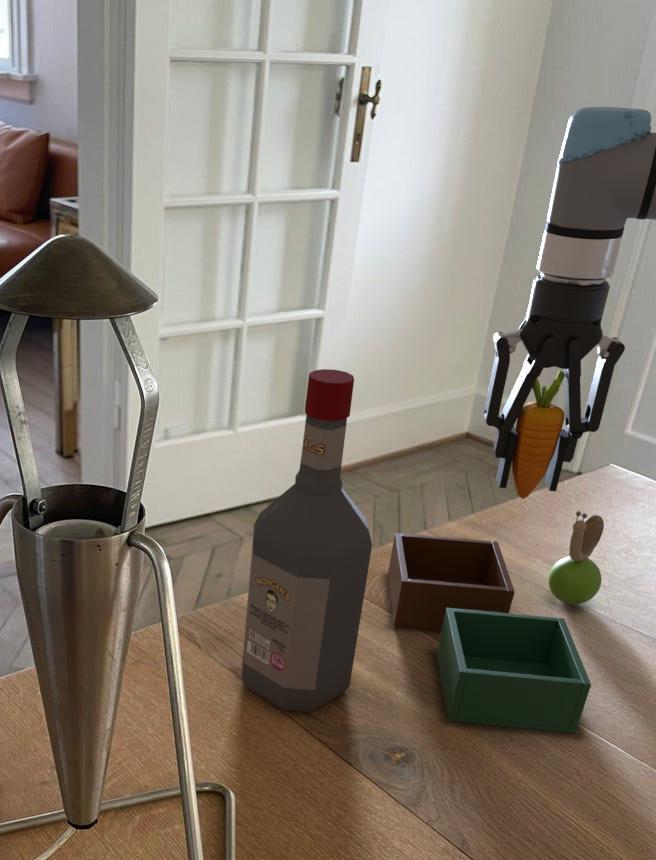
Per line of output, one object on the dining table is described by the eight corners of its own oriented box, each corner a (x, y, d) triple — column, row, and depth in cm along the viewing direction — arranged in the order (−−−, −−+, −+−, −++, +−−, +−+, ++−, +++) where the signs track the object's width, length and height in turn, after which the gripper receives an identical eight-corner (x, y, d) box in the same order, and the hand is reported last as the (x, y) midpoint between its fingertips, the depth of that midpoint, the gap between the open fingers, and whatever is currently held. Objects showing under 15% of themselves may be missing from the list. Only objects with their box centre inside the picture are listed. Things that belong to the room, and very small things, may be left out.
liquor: (297, 723, 88) (338, 402, 72) (227, 678, 94) (250, 371, 77) (361, 686, 93) (412, 380, 77) (291, 646, 99) (325, 352, 83)
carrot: (501, 504, 112) (529, 376, 104) (499, 488, 116) (526, 363, 108) (546, 509, 111) (577, 381, 103) (542, 492, 115) (572, 367, 107)
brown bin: (487, 584, 111) (497, 541, 108) (503, 636, 102) (514, 591, 99) (387, 575, 112) (395, 532, 109) (393, 626, 103) (402, 581, 100)
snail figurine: (530, 602, 108) (556, 504, 102) (557, 584, 112) (584, 488, 105) (575, 621, 105) (606, 521, 98) (602, 602, 109) (633, 504, 102)
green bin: (550, 664, 98) (564, 618, 95) (575, 733, 88) (591, 684, 85) (436, 653, 99) (446, 607, 96) (448, 720, 89) (460, 671, 86)
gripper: (652, 273, 103) (597, 477, 115) (479, 265, 104) (444, 467, 117) (674, 288, 96) (613, 503, 109) (490, 280, 98) (451, 492, 111)
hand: (525, 484), depth 113 cm, fingers closed on carrot, 5 cm apart
